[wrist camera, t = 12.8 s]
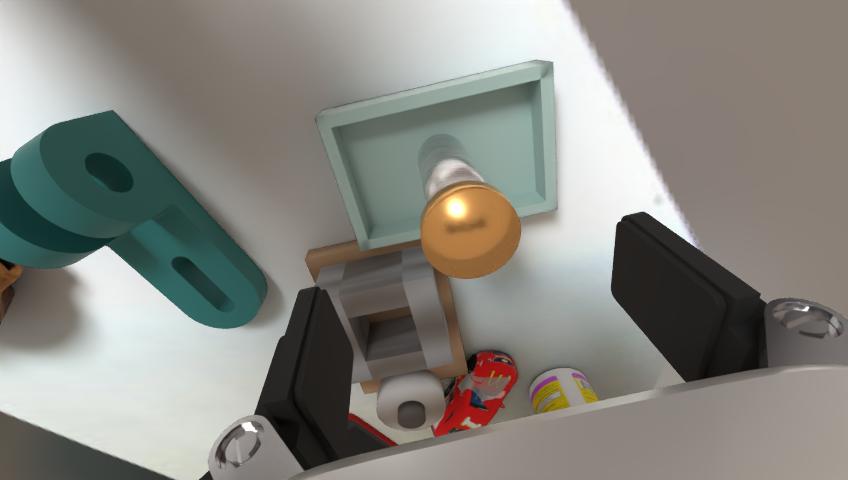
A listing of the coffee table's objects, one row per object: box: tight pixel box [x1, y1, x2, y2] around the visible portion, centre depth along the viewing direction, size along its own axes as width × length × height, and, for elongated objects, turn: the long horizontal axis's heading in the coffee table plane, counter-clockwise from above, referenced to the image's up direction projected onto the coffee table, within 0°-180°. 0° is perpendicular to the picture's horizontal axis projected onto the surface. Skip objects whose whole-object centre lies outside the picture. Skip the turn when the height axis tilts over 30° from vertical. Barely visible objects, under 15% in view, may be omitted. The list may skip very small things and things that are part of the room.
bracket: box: [0, 110, 267, 329], centre depth 26 cm, size 18×7×8 cm, turn 27°
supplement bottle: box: [529, 368, 599, 415], centre depth 35 cm, size 7×7×13 cm
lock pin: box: [418, 134, 521, 279], centre depth 21 cm, size 4×4×12 cm
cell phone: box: [345, 413, 398, 458], centre depth 45 cm, size 8×15×1 cm, turn 37°
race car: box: [431, 351, 518, 437], centre depth 39 cm, size 13×5×4 cm, turn 152°
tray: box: [315, 60, 557, 251], centre depth 26 cm, size 10×15×3 cm, turn 102°
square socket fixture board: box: [305, 239, 469, 431], centre depth 31 cm, size 17×11×8 cm, turn 12°
